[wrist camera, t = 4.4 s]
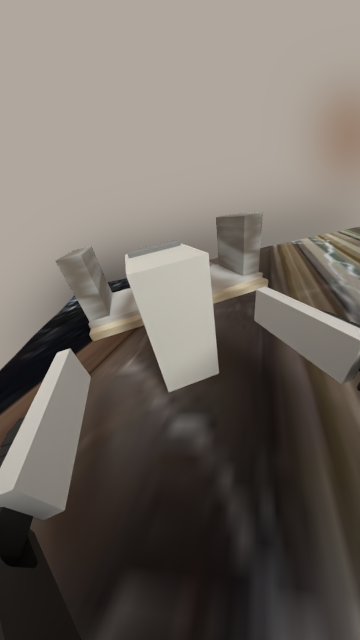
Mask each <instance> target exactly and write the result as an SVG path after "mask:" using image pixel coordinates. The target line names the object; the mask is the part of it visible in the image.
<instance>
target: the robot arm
mask: <svg viewBox="0 0 360 640" xmlns="http://www.w3.org/2000/svg"><path fill="white" fill-rule="evenodd" d="M254 321H256V322H257V323H259V324H260V325H261V326H263V327H264V328H265V329H267V330H268V331H269V332H271V333H272V334H274V335H275V336H276V337H278V338H279V339H280V340H282V341H283V342H284V343H286V344H287V345H289V346H290V347H291V348H293V349H294V350H295V351H297V352H298V353H299V354H301V355H302V356H304V357H305V358H306V359H308V360H309V361H310V362H312V363H313V364H314V365H316V366H317V367H319V368H320V369H321V370H323V371H324V372H325V373H327V374H328V375H329V376H331V377H332V378H334V379H335V380H336V381H338V382H339V383H340V384H344V383H346V382H348V381H351V380H353V379H354V378H355V376H356V375H357V373H358V371H360V325H358V324H356V323H353V322H349V320H346V319H344V318H341V317H339V316H337V315H335V314H333V313H330V312H326V311H322V310H317V309H315V308H313V307H311V306H308V305H306V304H304V303H302V302H299V301H297V300H295V299H293V298H290V297H288V296H286V295H283V294H281V293H279V292H277V291H274V290H272V289H270V288H268V287H262V288H259V289H256V301H255V317H254ZM90 379H91V377H90V375H89V374H88V373H87V371H86V370H85V368H84V367H83V366H82V364H81V363H80V361H79V360H78V359H77V357H76V356H75V354H74V353H73V352H72V350H71V349H67V350H64V351H61V352H58V353H57V354H56V356H55V358H54V360H53V362H52V364H51V366H50V368H49V370H48V372H47V374H46V376H45V378H44V380H43V382H42V384H41V386H40V388H39V390H38V392H37V394H36V396H35V398H34V400H33V403H32V405H31V407H30V409H29V411H28V413H27V415H26V417H24V418H21V419H19V420H18V421H17V422H16V424H15V425H14V426H13V427H12V428H11V430H10V431H9V432H8V433H7V435H6V437H5V439H4V441H3V443H2V445H1V446H0V447H1V449H0V640H81V639H80V636H79V634H78V632H77V630H76V627H75V625H74V623H73V620H72V618H71V616H70V614H69V611H68V609H67V607H66V604H65V602H64V600H63V598H62V595H61V593H60V591H59V588H58V586H57V584H56V581H55V579H54V577H53V575H52V572H51V570H50V568H49V565H48V563H47V561H46V559H45V556H44V554H43V552H42V549H41V547H40V545H39V543H38V540H37V538H36V536H35V533H34V532H33V531H32V530H31V529H30V526H31V522H32V519H33V517H34V518H37V519H40V520H45V519H47V518H50V517H52V516H54V515H56V514H58V513H61V512H63V511H65V507H66V502H67V497H68V492H69V487H70V481H71V476H72V471H73V466H74V461H75V456H76V451H77V446H78V441H79V436H80V430H81V425H82V420H83V415H84V410H85V405H86V400H87V395H88V390H89V385H90ZM357 389H358V390H359V391H360V383H359V384H358V386H357Z"/></svg>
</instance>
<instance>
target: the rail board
mask: <svg viewBox="0 0 360 640" xmlns="http://www.w3.org/2000/svg"><path fill="white" fill-rule="evenodd" d="M262 216H263V212H251V213H238V214H229V215H225V216H220V217H217V218H216V225H217V241H218V259H219V264H216V265H212V266H210V277H211V288H212V299H213V304H214V303H217V302H221V301H224V300H227V299H230V298H233V297H237V296H240V295H243V294H246V293H249V292H253V291H256V289H259V288H262V287H268V280H267V279H264V278H262V273H261V272H259V259H260V244H261V229H262ZM56 263H57V265H58V266H59V268H60V270H61V272H62V273H63V275H64V277H65V279H66V281H67V282H68V284H69V286H70V288H71V289H72V291H73V293H74V295H75V297H76V298H77V300H78V302H79V304H80V305H81V307H82V309H83V311H84V312H85V314H86V316H87V318H88V319H89V321H90V322H89V326H90V328H91V331H90V334H89V335H90V337H91V338H92V340H93V341H96V340H99V339H102V338H105V337H108V336H112V335H115V334H118V333H121V332H124V331H128V330H131V329H134V328H137V327H140V326H144V323H143V320H142V317H141V314H140V312H139V309H138V306H137V303H136V301H135V298H134V295H133V292H132V290H131V288H129V289H125V290H122V291H118V292H114V293H112V292H111V290H110V287H109V285H108V283H107V280H106V278H105V276H104V274H103V271H102V269H101V267H100V264H99V262H98V260H97V258H96V255H95V253H94V251H93V248H92V247H88V248H83V249H78V250H74V251H72V252H70V253H68V254H67V255H65V256H63V257H61V258H60V259H58V260H56Z"/></svg>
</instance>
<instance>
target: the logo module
mask: <svg viewBox="0 0 360 640" xmlns="http://www.w3.org/2000/svg"><path fill="white" fill-rule="evenodd" d="M127 253H128V254H127V255H125V263H126V276H127V279H128V281H129V284H130V287H131V290H132V292H133V295H134V298H135V301H136V303H137V306H138V309H139V312H140V314H141V317H142V320H143V323H144V325H145V328H146V331H147V334H148V336H149V339H150V342H151V345H152V348H153V350H154V353H155V356H156V359H157V361H158V364H159V367H160V370H161V372H162V375H163V378H164V381H165V383H166V386H167V389H168V392H171V391H174V390H177V389H179V388H182V387H184V386H187V385H190V384H192V383H195V382H198V381H200V380H203V379H206V378H208V377H211V376H213V375H216V374H219V367H218V356H217V345H216V333H215V322H214V311H213V299H212V288H211V277H210V265H209V254H208V253H207V252H204V251H201V250H198V249H195V248H193V247H190V246H187V245H184V244H182V243H181V242H180V241H177V240H172V241H168V242H163V243H159V244H155V245H152V246H147V247H143V248H139V249H135V250H131V251H127Z"/></svg>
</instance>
